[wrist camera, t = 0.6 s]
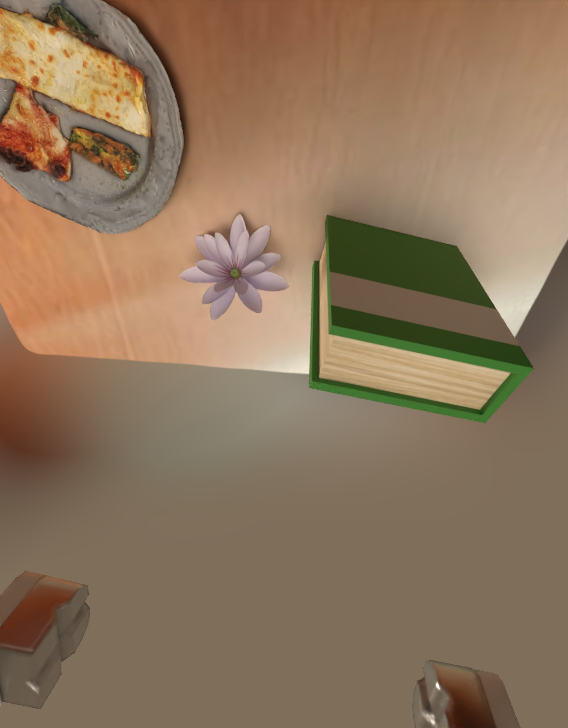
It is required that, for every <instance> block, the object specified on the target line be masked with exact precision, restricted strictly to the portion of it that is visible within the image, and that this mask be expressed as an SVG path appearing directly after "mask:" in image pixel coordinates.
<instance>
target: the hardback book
mask: <svg viewBox="0 0 568 728" xmlns="http://www.w3.org/2000/svg"><path fill="white" fill-rule="evenodd" d="M325 230H326V242H325V246H324V249H323V252H322V256H321V259H320V262H316V261H314V264H313V269H312V303H311V337H310V370H309V388H312V389H317V390H322V391H327V392H333V393H338V394H342V395H347V396H352V397H357V398H363V399H367V400H372V401H377V402H383V403H388V404H393V405H398V406H403V407H408V408H413V409H418V410H423V411H428V412H433V413H438V414H443V415H448V416H453V417H458V418H463V419H468V420H473V421H478V422H483V423H485V422H486V421H487V420H488V419H489V418H490V417H491V416H492V415H493V414H494V412H495V411H496V410H497V409H498V408H499V407H500V406H501V405H502V404H503V402H504V401H505V400H506V399H507V398H508V397H509V396H510V394H511V393H512V392H513V391H514V390H515V389H516V388H517V387H518V386H519V384H520V383H521V382H522V381H523V380H524V379H525V378H526V377H527V376H528V375H529V373H530V372H531V371H532V370H533V369H534V368H533V366H532V365H531V363H530V361H529V360H528V358H527V357H526V355H525V354H524V352H523V351H522V349H521V347H520V346H519V344H518V342H517V341H516V339H515V338H514V336H513V335H512V333H511V331H510V330H509V328H508V327H507V325H506V323H505V322H504V320H503V319H502V317H501V316H500V314H499V312H498V311H497V309H496V308H495V306H494V304H493V303H492V301H491V300H490V298H489V297H488V295H487V293H486V292H485V290H484V289H483V287H482V285H481V284H480V282H479V281H478V279H477V278H476V276H475V274H474V273H473V271H472V270H471V268H470V266H469V265H468V263H467V262H466V260H465V259H464V257H463V255H462V254H461V252H460V251H459V249H458V248H457V246H453V245H449V244H445V243H441V242H437V241H433V240H428V239H424V238H420V237H416V236H412V235H408V234H403V233H399V232H395V231H391V230H387V229H383V228H378V227H374V226H370V225H366V224H362V223H358V222H353V221H349V220H345V219H341V218H337V217H332V216H328V215H327V218H326V221H325Z"/></svg>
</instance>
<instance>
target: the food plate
mask: <svg viewBox="0 0 568 728" xmlns="http://www.w3.org/2000/svg"><path fill="white" fill-rule="evenodd" d="M128 17H129V16H128ZM128 17H127V16H126V15H123V14H122V13H121V11H120V12H119V11H118V9H116V8H114V7H113V6H111V5H109V4H107V3H105V2H104V1H102V0H0V175H1V177H2V178H3V179H4V180H5V181H6V182H7V183H8V184H10V185H11V186H12V187H13V188H14V189H16V190H17V191H18V192H19V193H20V194H21V195H22V196H23V197H24V198H25V199H27V200H28V201H30V202H32V203H34V204H37V205H38V206H41V207H43V208H45V209H47V210H50V211H51V212H54V213H57V214H59V215H61V216H62V217H65V218H67V219H69V220H70V219H71V220H72V221H74V222H76V223H79V224H81V225H83V226H86V227H91V228H92V229H93V230H94V229H95V231H98V232H100V233H107V234H108V233H109V234H121V233H125V232H129V231H131V230H133V229H137V228H138V227H140V226H142V225H143V224H144V223H145V222H146V221H149V220H150V219H151V218H153V217H155V216H157V214H158V213H159V211H161V210H162V208H163V206H164V205H165V204H166V202H167V201H168V199H169V198H170V195H171V192H172V191H173V187H174V184H175V181H176V177H177V174H178V170H179V166H180V161H181V155H182V150H183V147H184V146H183V145H184V138H183V136H184V135H183V131H182V125H181V121H180V119H179V118H180V113H179V108H178V107H177V106H178V105H177V101H176V98H175V93H174V91H173V89H172V85H171V83H170V79H169V78H168V77H167V73H166V71H165V69H164V67H163V65H162V63H161V61H160V60H159V58H158V56H157V54H156V53H155V52H154V50H153V48H152V47H151V45H150V44H149V43H148V42H147V40H146V39H145V37H144V36H143V35H142V34H141V32H140V31H139V29H138V28H137V26H136V25H135V23H134V22H133V21H131V19H130V18H128Z"/></svg>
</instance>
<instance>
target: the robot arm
mask: <svg viewBox="0 0 568 728" xmlns="http://www.w3.org/2000/svg"><path fill="white" fill-rule="evenodd" d="M88 595H89V592H88V585H85V584H81V583H76V582H72V581H67V580H63V579H58V578H54V577H50V576H47V575H43V574H38V573H33V572H28V571H25V572H23V573H22V574H21V575H19V576H18V577H16V578H15V580H14V581H13V582H12V583H11V584H10V585H9V586H8V587H7V589H6V590H5V591H4V592H3V593H2V594H1V595H0V706H1V705H2V702H7V703H12V704H17V705H22V706H27V707H32V708H37V709H41V708H42V706H43V704H44V703H45V701H46V699H47V698H48V696H49V694H50V693H51V691H52V689H53V688H54V686H55V684H56V683H57V681H58V679H59V677H60V676H61V662H62V661H64V660H65V659H66V658H68V657H69V656H70V655H72V654H73V653H75V651H76V649H77V647H78V646H79V644H80V642H81V640H82V638H83V636H84V633H85V631H86V628H87V626H88V622H89V617H90V608H89V606H88V605H87V604H86V603H85V600H86V599H87V597H88ZM423 671H424V678H422V679H420V680H418V681H417V683H416V686H415V688H414V693H413V718H414V724H415V728H520V726H519V723H518V721H517V718H516V715H515V713H514V710H513V708H512V705H511V702H510V699H509V697H508V694H507V692H506V689H505V686H504V684H503V682H502V680H501V679H500V678H499V676H498V675H496V674H494V673H489V672H485V671H480V670H475V669H472V668H469V667H463V666H459V665H453V664H448V663H444V662H439V661H433V660H429V661H426V663H425V665H424V667H423Z"/></svg>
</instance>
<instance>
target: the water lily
mask: <svg viewBox="0 0 568 728" xmlns="http://www.w3.org/2000/svg"><path fill="white" fill-rule="evenodd" d="M269 236H270V226H269V225H265V226H263V227H261V228H259V229H258V230H256V231H255V232H254V233H253V234H252V236H251V237H250V238H249V234H248V231H247V230H246V227H245V222H244V220H243V218H242V216H241V215H240V214H239V215H238V216H237V217H236V218H235V220H234V222H233V224H232V227H231V232H230V246H229V244H228V242H227V240H226V239H225V238H224V237H223V236H222V235H221V234H220V233H217V232H216V233H215V238H214V237H213V236H211V235H208V234H205V235H204V236H200V235H197V236H195V242H196V245H197V247H198V249H199V251H200V252H201V254H202V255H203V256H204V257H205V258H206V259H207V260H201V261H198V262H196V264H195V265H196V266H197V267H192V268H189V269H186V270H185V271H183V272H182V273H181V274H180V275H179V276H180V277H181V278H182V279H184V280H186V281H189V282H194V283H214V282H217V283H216V284H214V285H213V286H211V287H210V288H209V289H208V290H207V291H206V292H205V294H204V296H203V298H202V304H209V303H212V304H211V308H210V315H211V319H212V320H216V319H218V318H219V317H220V316H221V315H223V313H224V312H225V311H226V310H227V309H228V307H229V306H230V304H231V302H232V300H233V298H234V296H235V292H237V293H238V296H239V298H240V299H241V301H242V302H243V304H244V305H245V306H246V307H247V308H248V309H250V310H251V311H254V312H256V313H261V311H262V300H261V297H260V295H259V293H258V291H257V290H256V289H259V290H264V291H281V290H284V289H287V288H288V287H289V285H288V283H287V281H286V280H285V279H284V278H282V277H281V276H279V275H277V274H275V273H272V272H267V271H268V270H269V269H271V268H272V267H273V266H274V265H275V264H276V263H277V262H278V261H279V260H280V259H281V256H280V255H279V254H276V253H266V254H263V255H261V254H262V252H263V250H264V249H265V247H266V244H267V242H268V240H269ZM260 255H261V256H260Z"/></svg>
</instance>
